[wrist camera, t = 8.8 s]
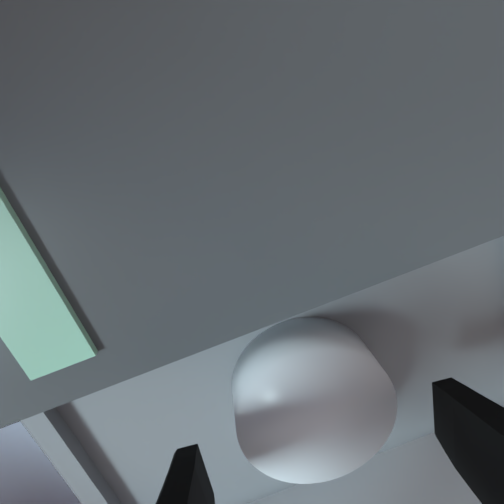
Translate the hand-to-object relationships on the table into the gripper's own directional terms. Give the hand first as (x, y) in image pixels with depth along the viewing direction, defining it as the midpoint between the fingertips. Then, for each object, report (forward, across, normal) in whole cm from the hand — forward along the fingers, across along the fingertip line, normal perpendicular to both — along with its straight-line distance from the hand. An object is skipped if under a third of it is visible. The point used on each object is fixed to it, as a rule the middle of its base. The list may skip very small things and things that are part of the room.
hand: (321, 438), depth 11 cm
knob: (+3, 0, 0) cm, 3 cm away
